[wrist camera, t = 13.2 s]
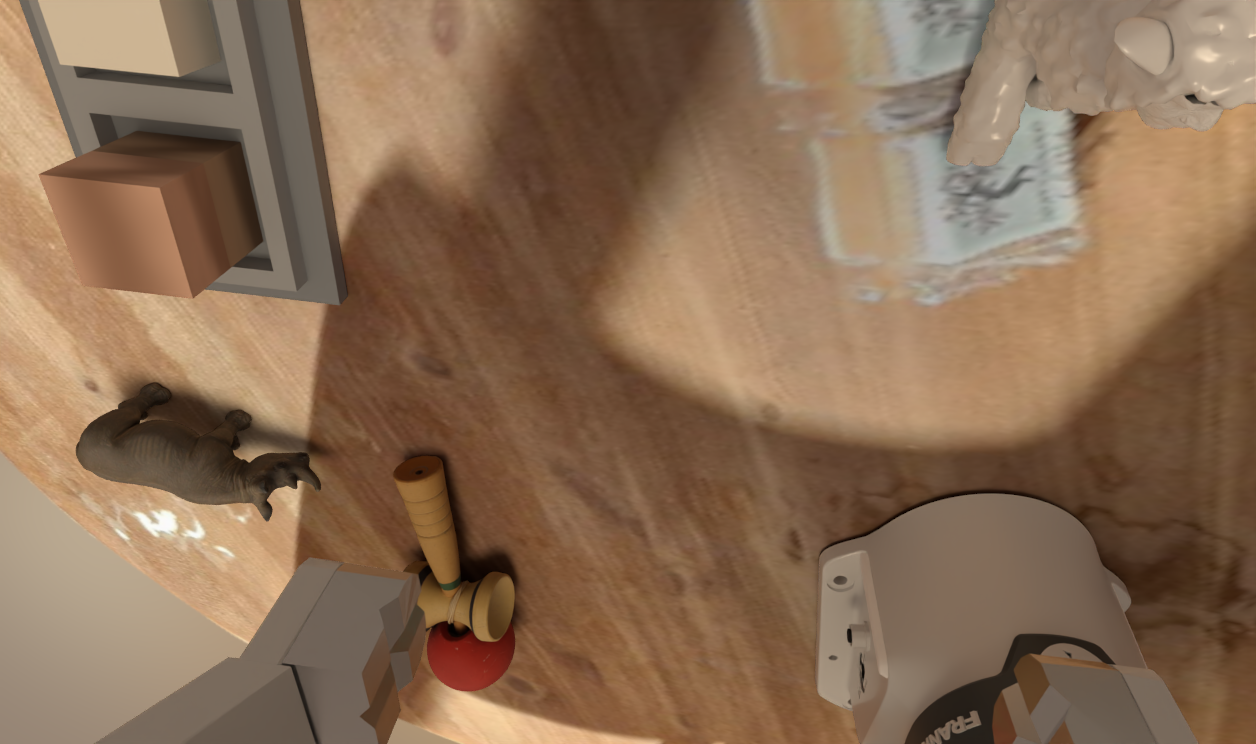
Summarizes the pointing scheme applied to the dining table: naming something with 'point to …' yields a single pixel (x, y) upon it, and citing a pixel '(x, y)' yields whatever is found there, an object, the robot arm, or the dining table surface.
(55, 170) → the brown block
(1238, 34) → the sitting furry creature
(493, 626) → the kendama
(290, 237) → the base plate
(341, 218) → the dining table surface
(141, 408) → the rhino figurine
